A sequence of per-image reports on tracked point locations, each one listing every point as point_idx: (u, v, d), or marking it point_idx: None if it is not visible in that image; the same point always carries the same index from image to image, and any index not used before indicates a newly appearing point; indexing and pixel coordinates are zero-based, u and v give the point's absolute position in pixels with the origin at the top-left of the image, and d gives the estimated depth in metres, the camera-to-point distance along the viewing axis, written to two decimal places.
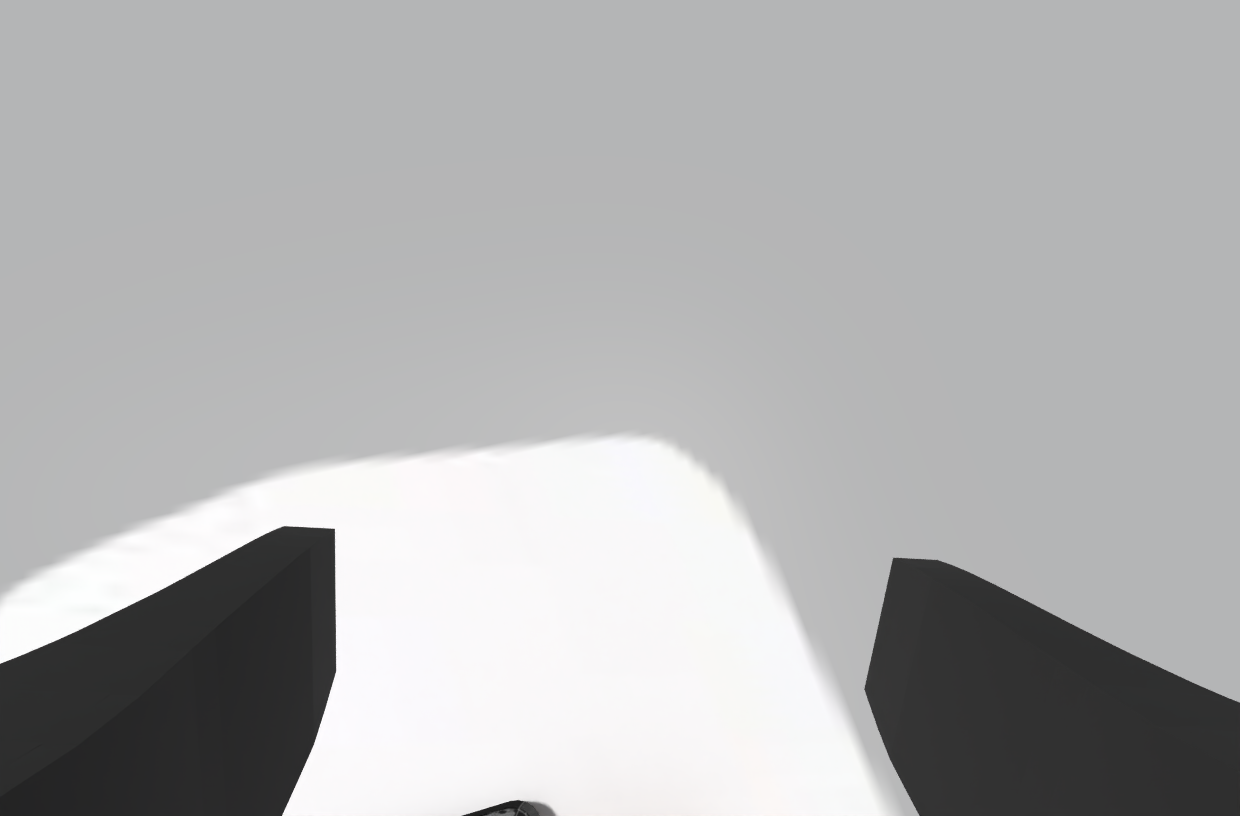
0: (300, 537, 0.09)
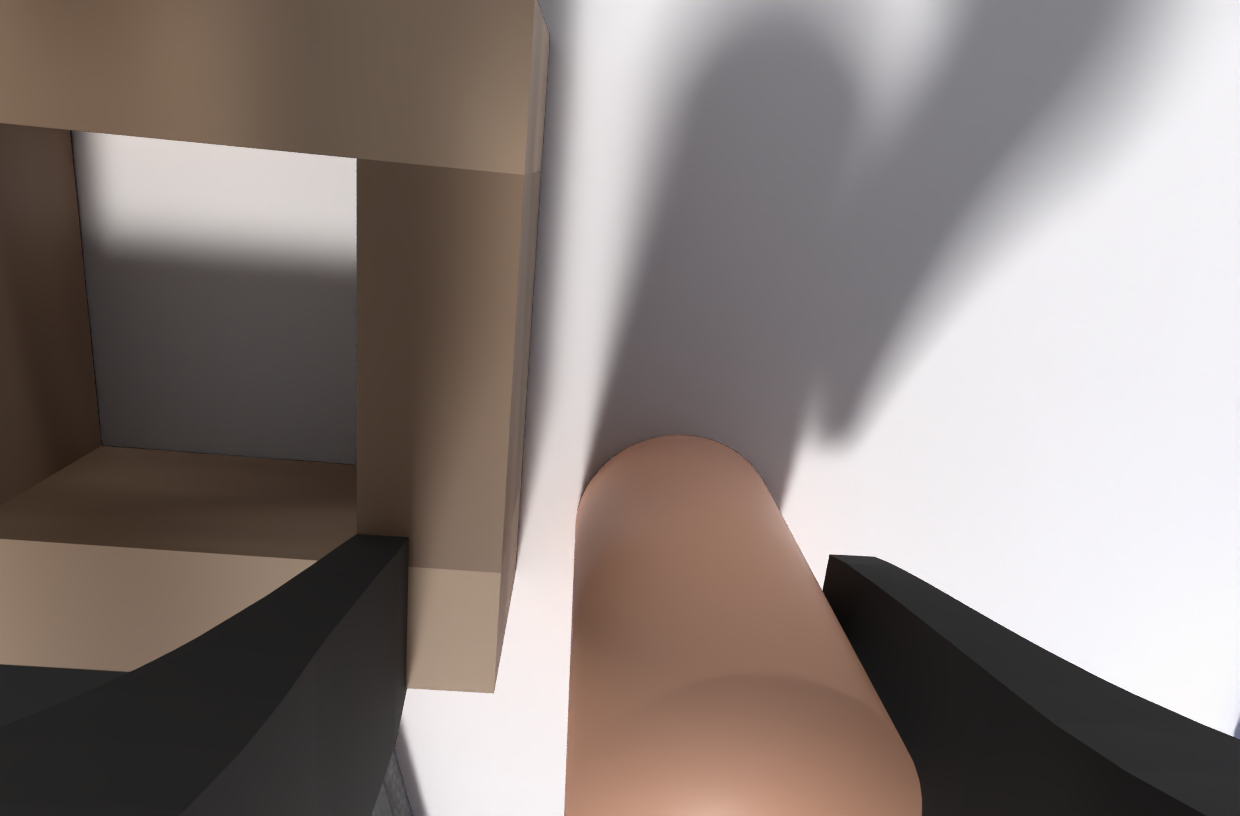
0: (384, 541, 0.09)
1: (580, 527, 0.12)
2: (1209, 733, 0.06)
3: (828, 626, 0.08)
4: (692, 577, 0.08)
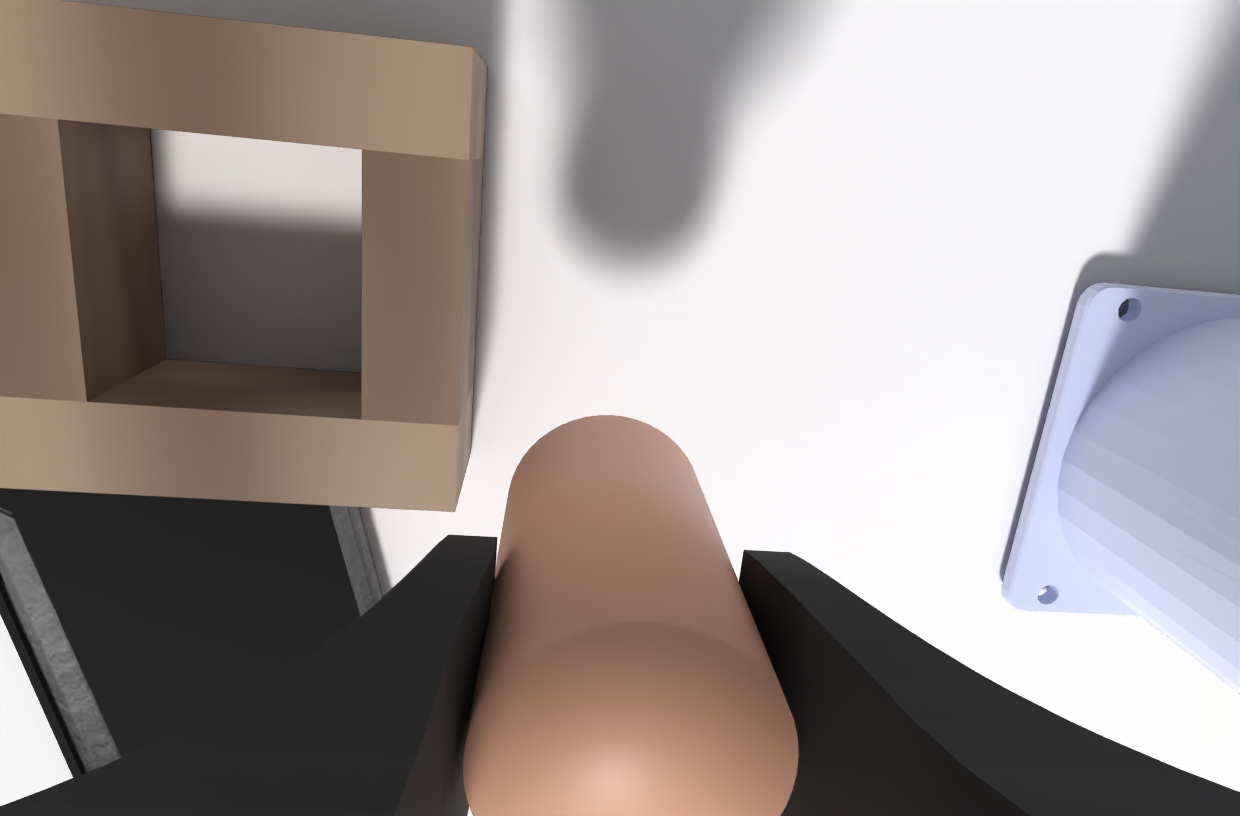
0: (475, 546, 0.09)
1: (507, 505, 0.12)
2: (1070, 728, 0.06)
3: (718, 583, 0.09)
4: (591, 541, 0.09)
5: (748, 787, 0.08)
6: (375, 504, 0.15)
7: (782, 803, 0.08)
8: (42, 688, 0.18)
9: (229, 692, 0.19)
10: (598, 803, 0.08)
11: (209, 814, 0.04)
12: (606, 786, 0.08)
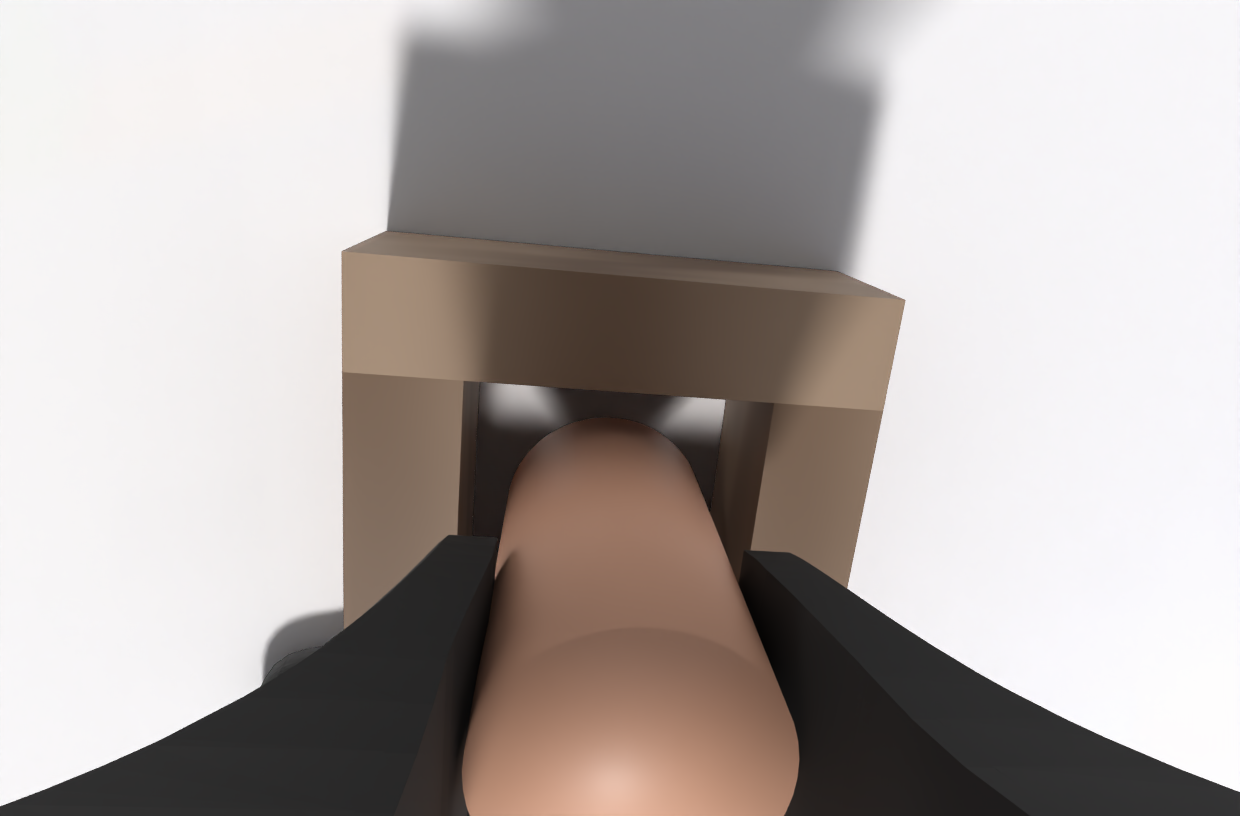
0: (475, 546, 0.09)
1: (507, 508, 0.12)
2: (1071, 728, 0.06)
3: (718, 587, 0.08)
4: (591, 544, 0.09)
5: (748, 792, 0.08)
6: None
7: (782, 809, 0.08)
8: None
9: None
10: (597, 808, 0.08)
11: (212, 813, 0.04)
12: (606, 792, 0.08)
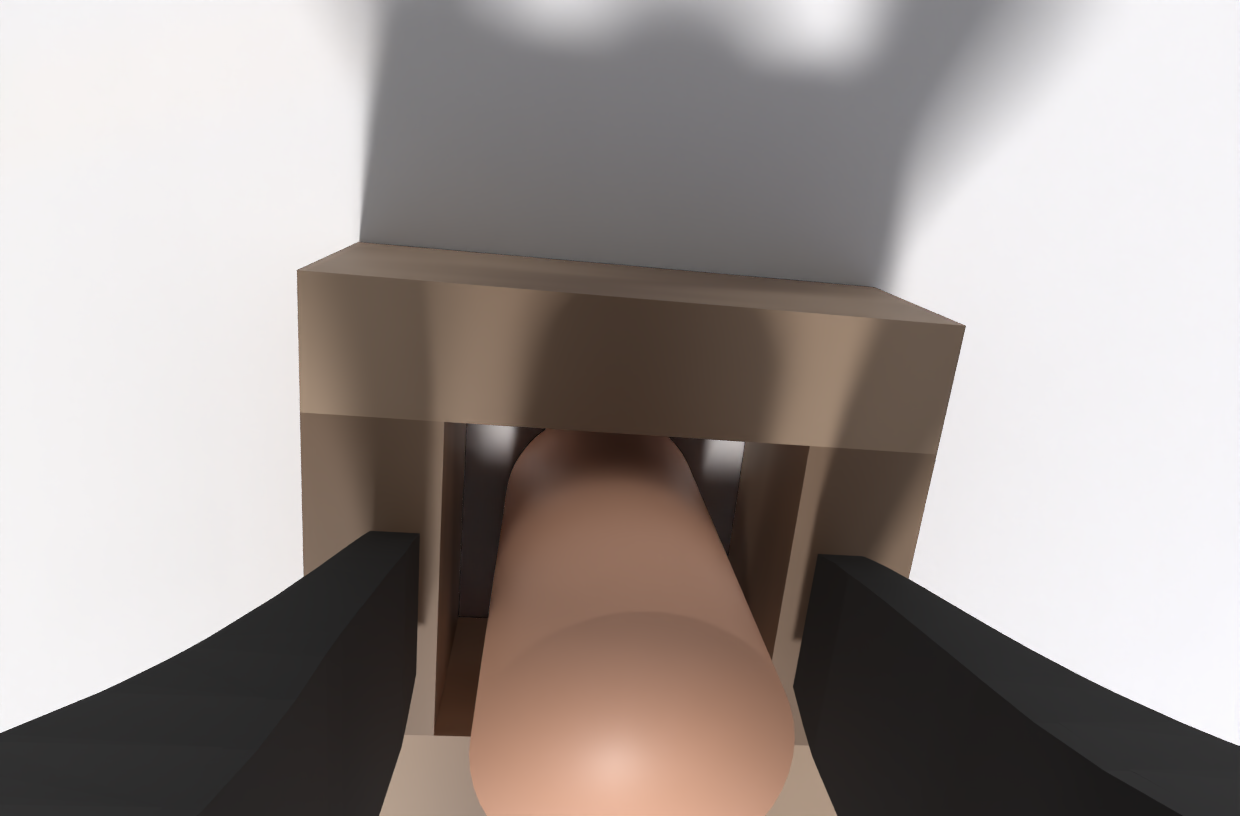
0: (392, 542, 0.09)
1: (506, 501, 0.12)
2: (1190, 732, 0.06)
3: (715, 574, 0.09)
4: (592, 534, 0.09)
5: (745, 770, 0.08)
6: None
7: (778, 786, 0.08)
8: None
9: None
10: (600, 788, 0.08)
11: (5, 811, 0.04)
12: (608, 771, 0.08)
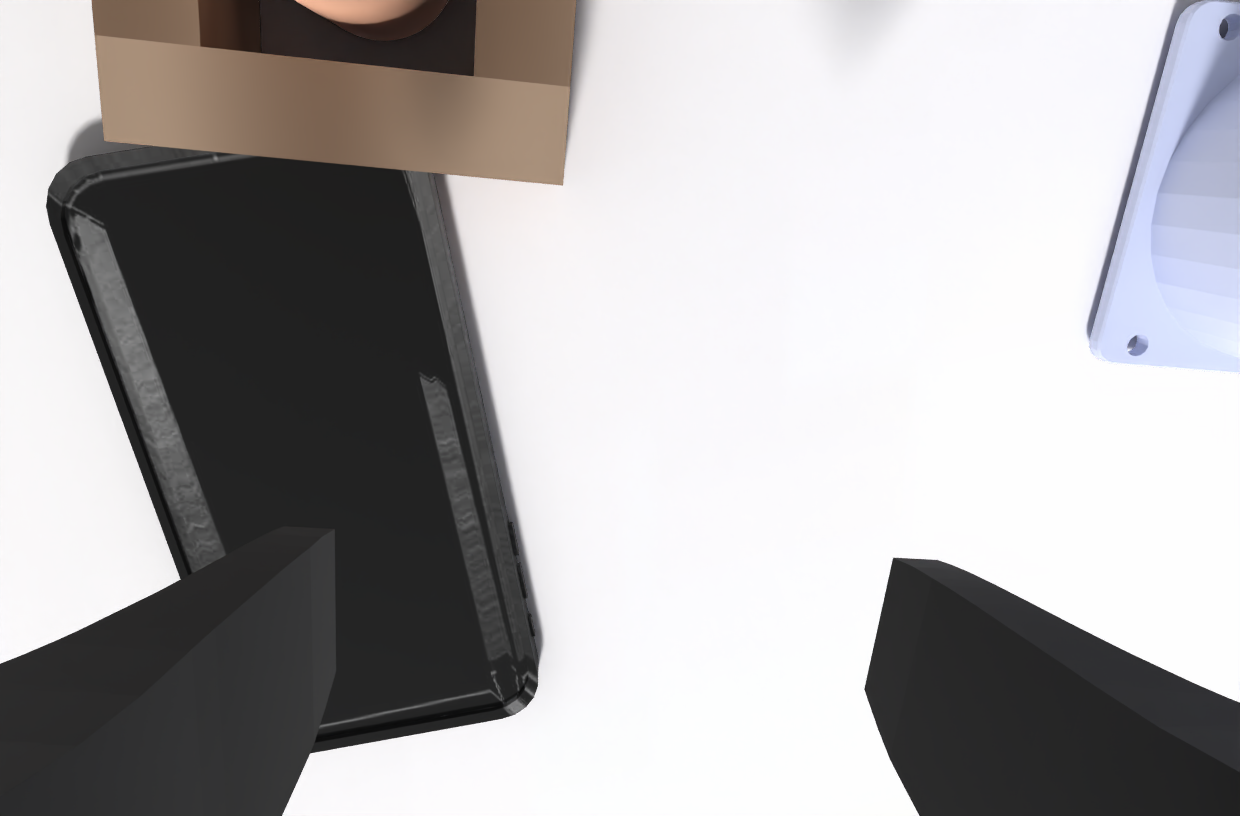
0: (300, 537, 0.09)
1: None
2: None
3: None
4: None
5: None
6: (484, 173, 0.15)
7: None
8: (130, 418, 0.18)
9: (315, 430, 0.18)
10: None
11: None
12: None
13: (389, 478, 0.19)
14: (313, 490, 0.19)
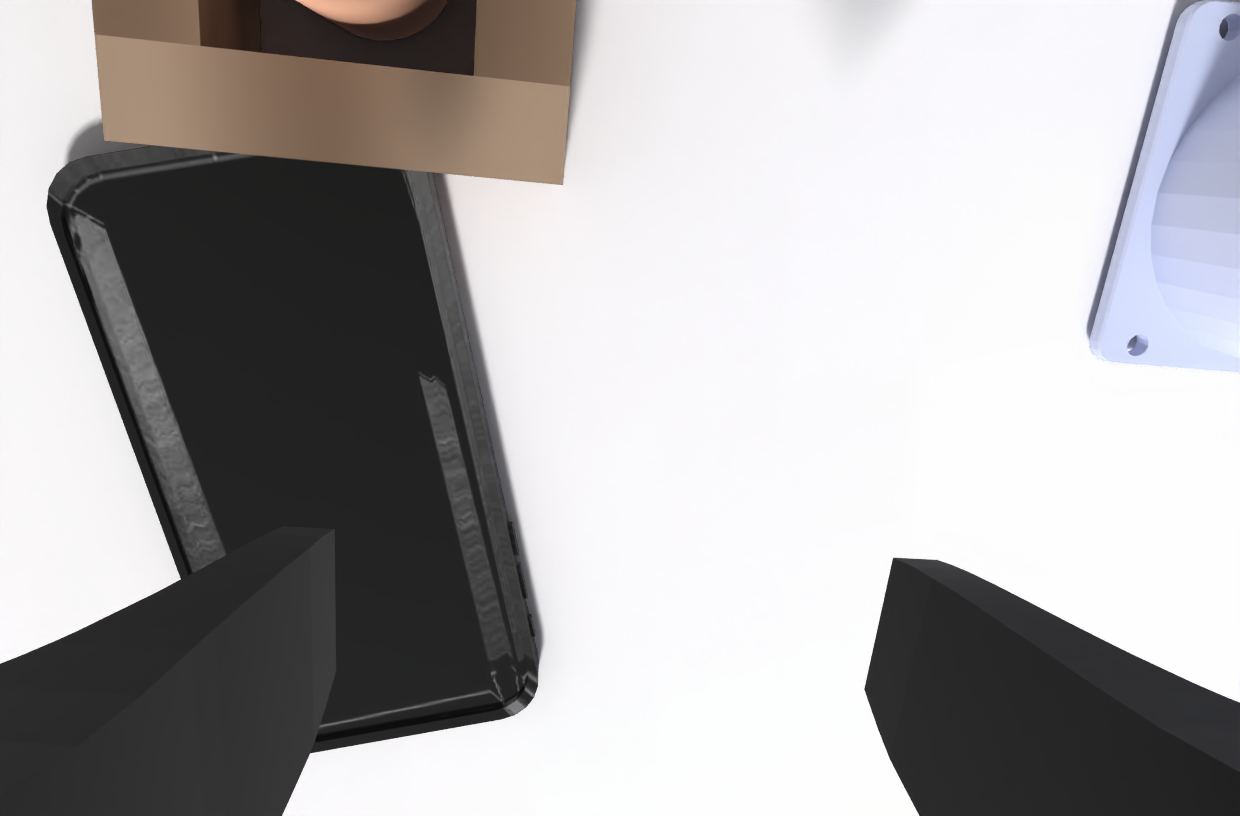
0: (300, 537, 0.09)
1: None
2: None
3: None
4: None
5: None
6: (484, 173, 0.15)
7: None
8: (130, 417, 0.18)
9: (315, 429, 0.18)
10: None
11: None
12: None
13: (389, 478, 0.19)
14: (313, 490, 0.19)
